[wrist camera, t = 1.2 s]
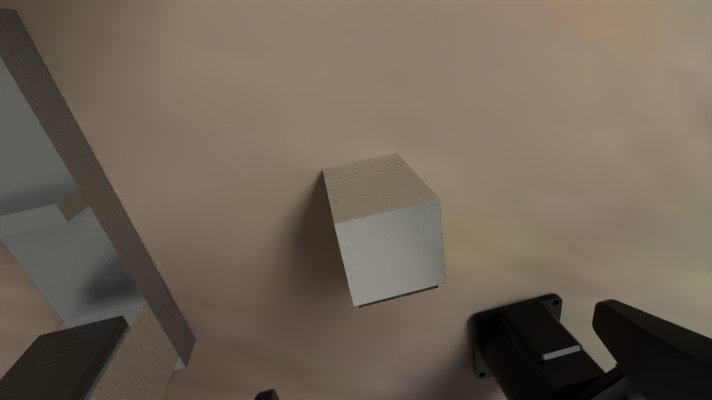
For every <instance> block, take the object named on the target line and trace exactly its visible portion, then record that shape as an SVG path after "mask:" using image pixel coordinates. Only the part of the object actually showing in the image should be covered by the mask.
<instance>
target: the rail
mask: <svg viewBox="0 0 712 400" xmlns="http://www.w3.org/2000/svg"><path fill="white" fill-rule="evenodd" d="M0 239H1V241H2V242H3V243H4V245H5V246H6V247H7V249H8V250H9V251H10V252H11V254H12V255H13V256H14V258H15V259H16V260H17V262H18V263H19V264H20V265H21V267H22V268H23V269H24V271H25V272H26V273H27V275H28V276H29V277H30V279H31V280H32V281H33V282H34V284H35V285H36V286H37V288H38V289H39V290H40V292H41V293H42V294H43V295H44V297H45V298H46V299H47V301H48V302H49V303H50V305H51V306H52V307H53V309H54V310H55V311H56V312H57V314H58V315H59V316H60V318H61V319H62V320H63V323H62V324H61V325H60V326H59V327H58V329H57V330H56V331H55V332H52V333H48V334H44V335H40V336H39V337H38V338H37V339H36V340H35V341H34V342H33V343H32V345H31V346H30V347H29V348H28V349H27V350H26V351H25V353H24V354H23V355H22V356H21V357H20V358H19V359H18V360H17V362H16V363H15V364H14V365H13V366H12V367H11V368H10V369H9V371H8V372H7V373H6V374H5V375H4V376H3V377H2V378H1V380H0V400H162V399H163V397H164V394H165V391H166V389H167V386H168V383H169V381H170V378H171V375H172V373H173V371H177V370H180V369H184V368H186V367H187V364H188V361H189V358H190V355H191V352H192V349H193V346H194V343H195V341H196V340H195V338H194V336H193V334H192V332H191V331H190V329H189V327H188V325H187V323H186V322H185V320H184V318H183V316H182V314H181V312H180V311H179V309H178V307H177V305H176V303H175V301H174V300H173V298H172V296H171V294H170V292H169V290H168V289H167V287H166V285H165V283H164V281H163V280H162V278H161V276H160V274H159V272H158V270H157V269H156V267H155V265H154V263H153V261H152V259H151V258H150V256H149V254H148V252H147V250H146V249H145V247H144V245H143V243H142V241H141V239H140V238H139V236H138V234H137V232H136V230H135V228H134V227H133V225H132V223H131V221H130V219H129V218H128V216H127V214H126V212H125V210H124V208H123V207H122V205H121V203H120V201H119V199H118V197H117V196H116V194H115V192H114V190H113V188H112V186H111V185H110V183H109V181H108V179H107V177H106V176H105V174H104V172H103V170H102V168H101V166H100V165H99V163H98V161H97V159H96V157H95V155H94V154H93V152H92V150H91V148H90V146H89V145H88V143H87V141H86V139H85V137H84V135H83V134H82V132H81V130H80V128H79V126H78V124H77V123H76V121H75V119H74V117H73V115H72V114H71V112H70V110H69V108H68V106H67V104H66V103H65V101H64V99H63V97H62V95H61V93H60V92H59V90H58V88H57V86H56V84H55V83H54V81H53V79H52V77H51V75H50V73H49V72H48V70H47V68H46V66H45V64H44V62H43V61H42V59H41V57H40V55H39V53H38V51H37V50H36V48H35V46H34V44H33V42H32V41H31V39H30V37H29V35H28V33H27V31H26V30H25V28H24V26H23V24H22V22H21V20H20V19H19V17H18V15H17V13H16V11H15V10H10V9H1V8H0Z"/></svg>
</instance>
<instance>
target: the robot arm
mask: <svg viewBox="0 0 712 400" xmlns="http://www.w3.org/2000/svg"><path fill="white" fill-rule="evenodd" d="M561 308H562V299H561V298H560V297H559V296H558V295H557V294H550V295H546V296H542V297H539V298H535V299H531V300H527V301H523V302H520V303H516V304H512V305H508V306H504V307H501V308H497V309H493V310H489V311H485V312H482V313H478V314H476V315H475V316H474V317H473V318H472V332H473V362H474V374H475V376H476V377H477V378H478V379H484V378H488V377H492V376H494V378H495V380H496V381H497V383H498V385H499V386H500V388H501V390H502V391H503V393H504V395H505V396H506V398H507V400H712V339H711V338H708V337H706V336H703V335H701V334H699V333H696V332H694V331H691V330H689V329H686V328H684V327H681V326H679V325H676V324H674V323H671V322H669V321H666V320H664V319H661V318H659V317H656V316H654V315H651V314H649V313H646V312H644V311H642V310H639V309H637V308H634V307H632V306H629V305H627V304H624V303H622V302H619V301H617V300H613V299H608V300H604V301H600V302H598V303H597V304H596V305H595V310H594V315H593V321H592V326H593V329H594V331H595V333H596V334H597V335H598V337H599V338H600V340H601V341H602V342H603V344H604V345H605V346H606V348H607V349H608V350H609V352H610V353H611V355H612V356H613V357H614V359H615V360H616V361H617V364H615V366H616V367H614V368H613V369H611V370H610V371H609V372H607V373H606V372H605V371H604V370H603V369H602V368H601V367H600V366H599V365H598V364H597V363H596V362H595V361H594V360H593V359H592V358H591V357H590V355H589V354H588V353H587V352H586V351H585V350H584V349H583V347H582V345H581V344H580V343H579V342H578V341H577V340H576V339H575V337H574V336H573V335H572V334H571V333H570V332H569V331H568V330H567V329H566V328H565V327H564V326H563V325H562V324H561V323H560V316H561ZM254 400H279V398H278V396H277V393H276V391H275V390H274V389H270V390H266V391H262V392H260V393H258V394H257V396H256V397H255V399H254Z"/></svg>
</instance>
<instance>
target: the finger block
mask: <svg viewBox="0 0 712 400" xmlns="http://www.w3.org/2000/svg"><path fill="white" fill-rule="evenodd" d="M323 174H324V179H325V184H326V188H327V193H328V198H329V202H330V207H331V212H332V216H333V221H334V226H335V230H336V234H337V238H338V242H339V246H340V251H341V255H342V259H343V263H344V267H345V272H346V276H347V280H348V284H349V288H350V292H351V297H352V301H353V305H354V306H358V305H359V308H360V307H364V306H368V305H372V304H376V303H379V302H383V301H387V300H391V299H395V298H399V297H403V296H407V295H411V294H415V293H418V292H422V291H426V290H430V289H434V288H438V285H440V284H444V283H446V273H445V259H444V246H443V233H442V219H441V206H440V198H439V197H438V196H437V195H436V194H435V193H434V192H433V191H432V190H431V189H430V188H429V187H428V186H427V185H426V184H425V182H424V181H423V180H422V179H421V178H420V177H419V176H418V175H417V174H416V173H415V172H414V171H413V170H412V169H411V168H410V166H409V165H408V164H407V163H406V162H405V161H404V160H403V159H402V158H401V157H400V156H399V155H398V154H397V153H393V154H388V155H384V156H379V157H375V158H370V159H366V160H362V161H357V162H353V163H348V164H344V165H339V166H335V167H331V168H326V169H323Z"/></svg>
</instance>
